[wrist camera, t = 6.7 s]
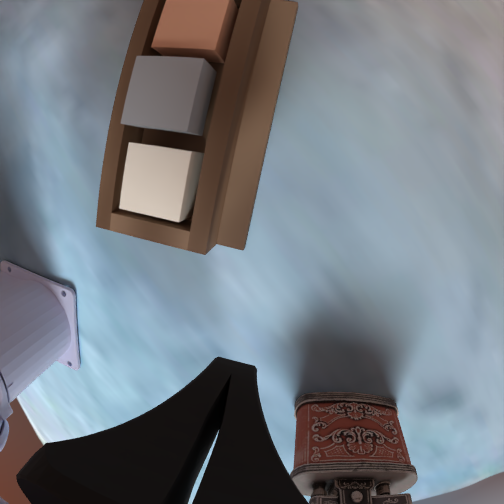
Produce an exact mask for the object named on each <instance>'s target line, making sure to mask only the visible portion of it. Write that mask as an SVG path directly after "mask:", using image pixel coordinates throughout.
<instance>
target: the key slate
mask: <svg viewBox="0 0 504 504" xmlns="http://www.w3.org/2000/svg"><path fill="white" fill-rule="evenodd" d="M216 73H217V72H216V71H215V70H214V69H213V67H212V66H211V65H210V64H209V63H208V62H207V61H206V60H205V59H204V58H191V57H172V56H137V57H136V60H135V64H134V68H133V71H132V75H131V79H130V83H129V87H128V92H127V96H126V100H125V105H124V109H123V114H122V119H121V124H125V125H131V126H136V127H141V128H149V129H157V130H165V131H172V132H179V133H186V134H193V135H199V136H202V135H203V130H204V125H205V121H206V116H207V112H208V107H209V103H210V99H211V94H212V90H213V86H214V82H215V78H216Z"/></svg>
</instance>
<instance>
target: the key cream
mask: <svg viewBox="0 0 504 504" xmlns="http://www.w3.org/2000/svg"><path fill="white" fill-rule="evenodd" d="M203 157H204V153H200V152H195V151H189V150H183V149H177V148H170V147H164V146H157V145H150V144H141V143H130V142H129V145H128V150H127V156H126V162H125V169H124V175H123V182H122V190H121V197H120V206H119V209H123V210H128V211H132V212H137V213H141V214H145V215H149V216H154V217H158V218H162V219H167V220H171V221H175V222H181V221H183V220H185V219H187V218H189V217H191V216H193V211H194V205H195V200H196V194H197V189H198V183H199V178H200V173H201V168H202V163H203Z"/></svg>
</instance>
